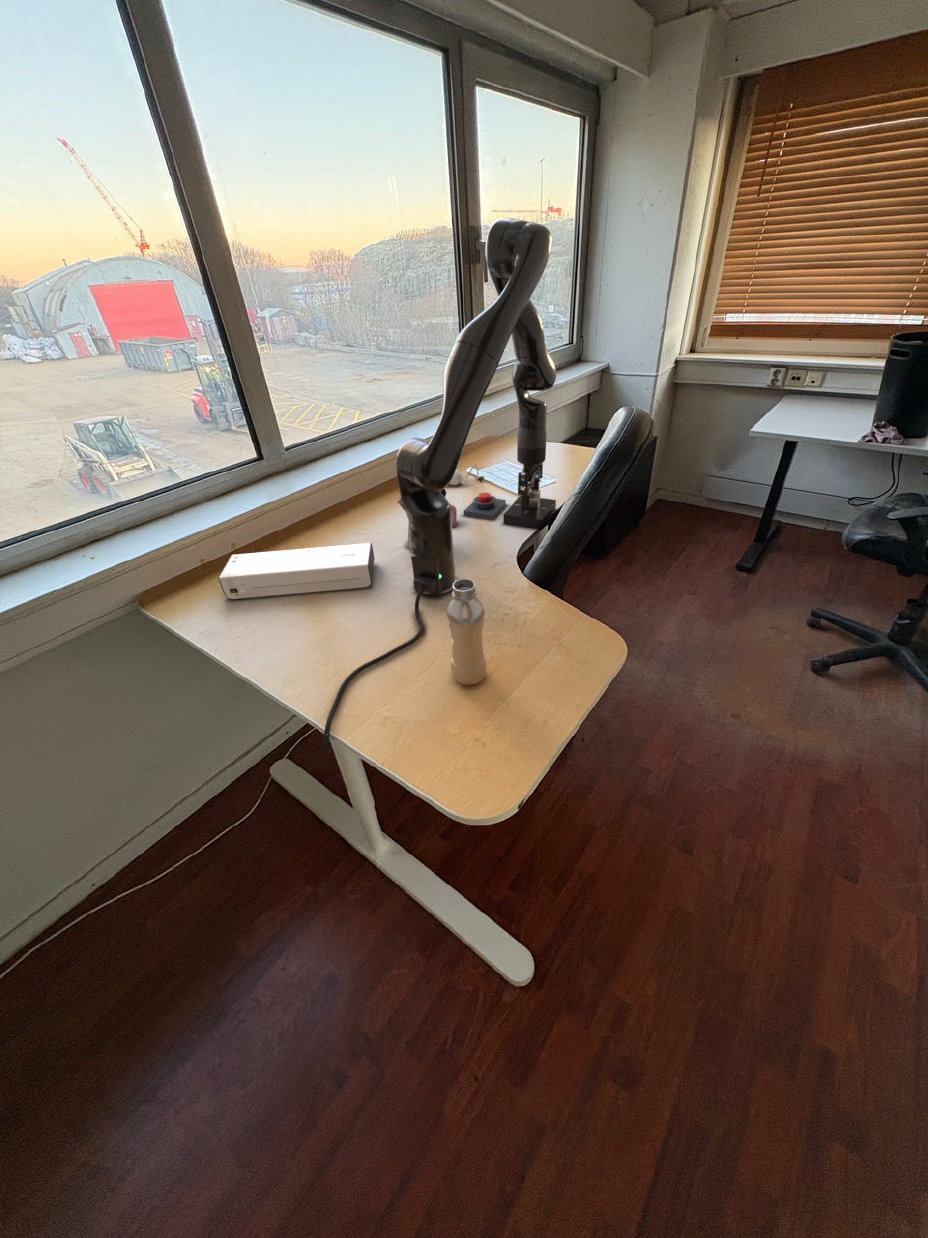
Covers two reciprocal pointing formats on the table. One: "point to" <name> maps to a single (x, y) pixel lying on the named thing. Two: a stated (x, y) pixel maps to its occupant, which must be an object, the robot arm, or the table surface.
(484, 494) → the button
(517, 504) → the hob panel
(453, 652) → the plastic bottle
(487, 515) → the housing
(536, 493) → the beige rectangular block
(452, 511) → the video game controller
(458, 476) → the clip-on lamp
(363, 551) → the laminator
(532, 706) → the table surface
